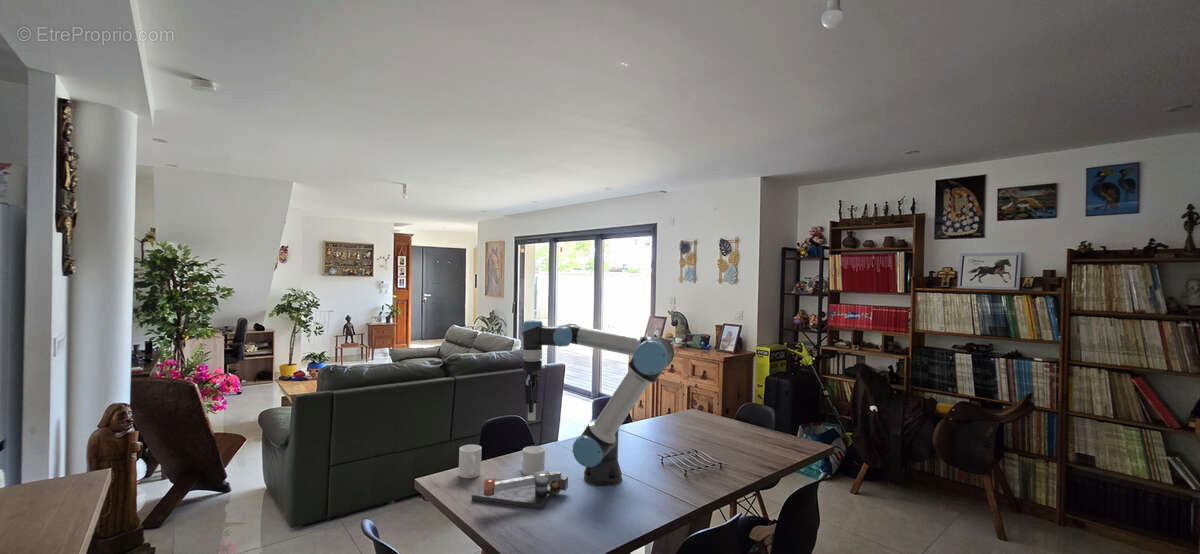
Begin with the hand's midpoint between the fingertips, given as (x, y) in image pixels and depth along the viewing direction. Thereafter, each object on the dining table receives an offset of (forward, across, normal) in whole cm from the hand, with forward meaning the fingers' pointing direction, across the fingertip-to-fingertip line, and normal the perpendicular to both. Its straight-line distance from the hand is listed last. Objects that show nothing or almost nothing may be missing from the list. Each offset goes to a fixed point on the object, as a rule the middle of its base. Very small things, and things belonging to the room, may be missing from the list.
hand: (531, 420), depth 192 cm
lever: (+18, +19, +3) cm, 27 cm away
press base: (+24, +15, +1) cm, 28 cm away
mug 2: (+24, -10, -3) cm, 26 cm away
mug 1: (+24, +1, -25) cm, 34 cm away
